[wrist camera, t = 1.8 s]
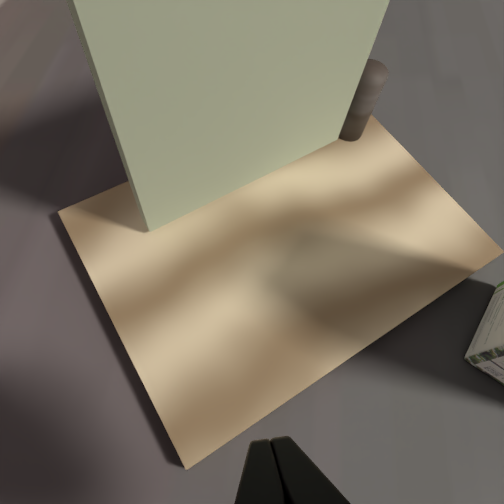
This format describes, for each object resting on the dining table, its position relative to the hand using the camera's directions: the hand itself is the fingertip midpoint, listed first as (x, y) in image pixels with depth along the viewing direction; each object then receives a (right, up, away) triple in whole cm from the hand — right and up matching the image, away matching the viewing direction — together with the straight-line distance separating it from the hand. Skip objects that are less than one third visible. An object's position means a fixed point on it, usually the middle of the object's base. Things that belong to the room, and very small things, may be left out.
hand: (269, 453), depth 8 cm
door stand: (+2, +5, +17) cm, 17 cm away
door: (-1, +10, +17) cm, 20 cm away
